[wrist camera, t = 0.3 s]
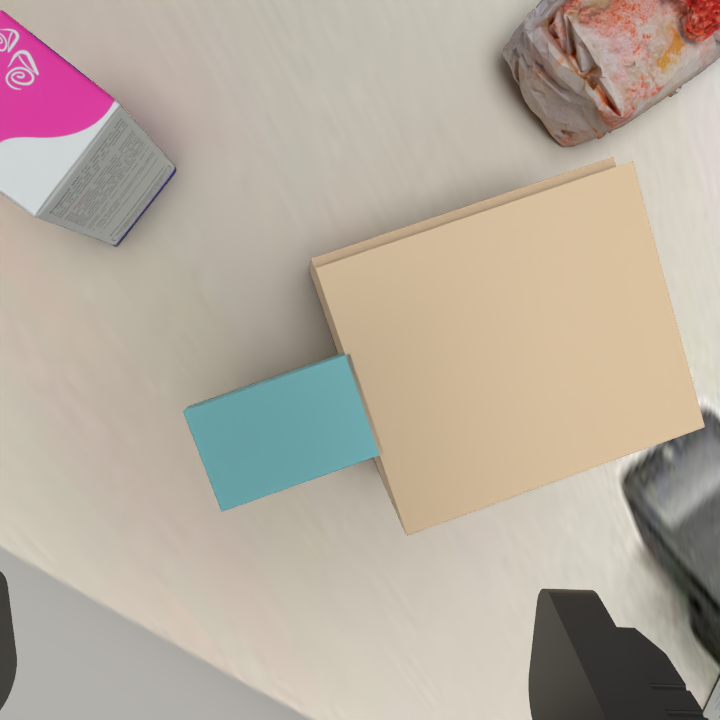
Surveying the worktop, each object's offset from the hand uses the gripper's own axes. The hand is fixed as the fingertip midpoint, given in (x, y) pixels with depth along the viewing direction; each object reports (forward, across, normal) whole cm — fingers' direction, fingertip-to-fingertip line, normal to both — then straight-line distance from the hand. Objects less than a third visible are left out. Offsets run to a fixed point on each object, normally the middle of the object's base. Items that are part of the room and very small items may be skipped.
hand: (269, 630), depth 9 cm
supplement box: (+29, +13, -7) cm, 32 cm away
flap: (+19, -5, +1) cm, 19 cm away
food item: (+33, -15, -15) cm, 39 cm away
